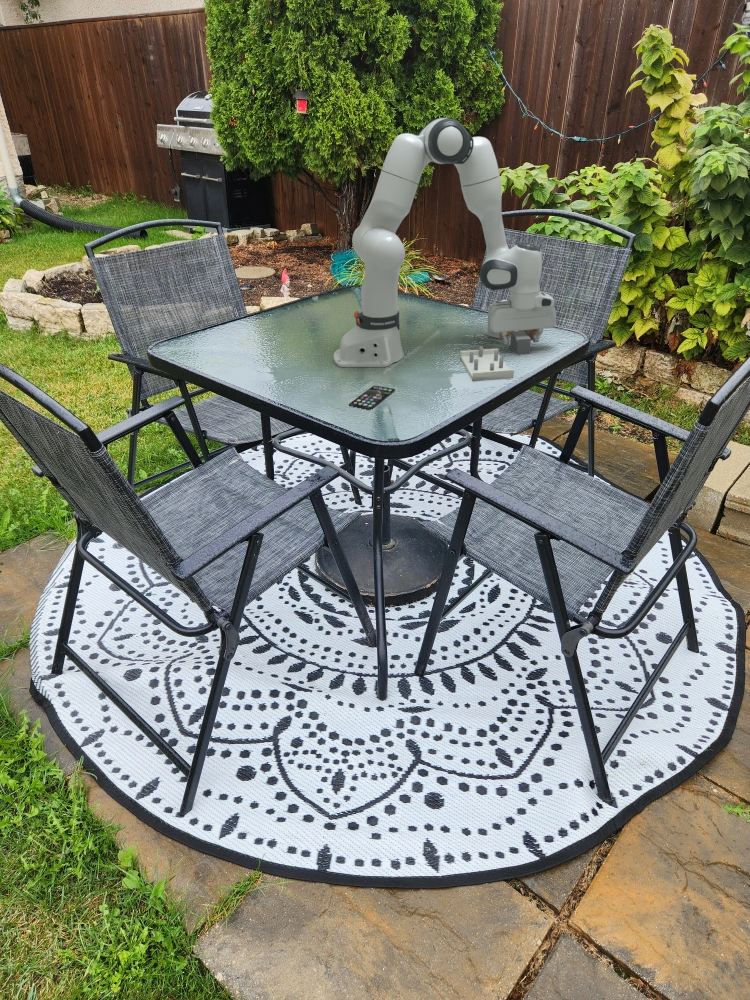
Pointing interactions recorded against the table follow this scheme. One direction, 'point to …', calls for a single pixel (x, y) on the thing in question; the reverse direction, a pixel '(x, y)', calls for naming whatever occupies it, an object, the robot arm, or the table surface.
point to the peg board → (485, 364)
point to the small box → (489, 331)
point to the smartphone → (372, 397)
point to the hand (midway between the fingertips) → (521, 343)
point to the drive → (520, 342)
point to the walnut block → (530, 332)
